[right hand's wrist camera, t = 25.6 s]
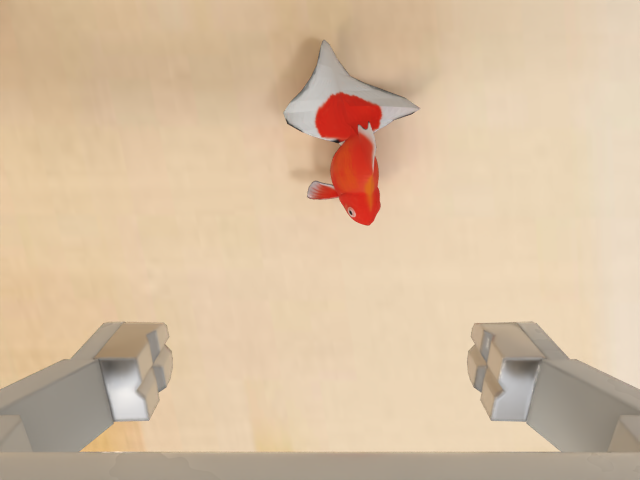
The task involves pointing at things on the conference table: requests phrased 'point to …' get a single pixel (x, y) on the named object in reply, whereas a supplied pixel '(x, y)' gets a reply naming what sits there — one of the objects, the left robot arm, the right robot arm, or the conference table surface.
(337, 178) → the fish
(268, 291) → the conference table surface
